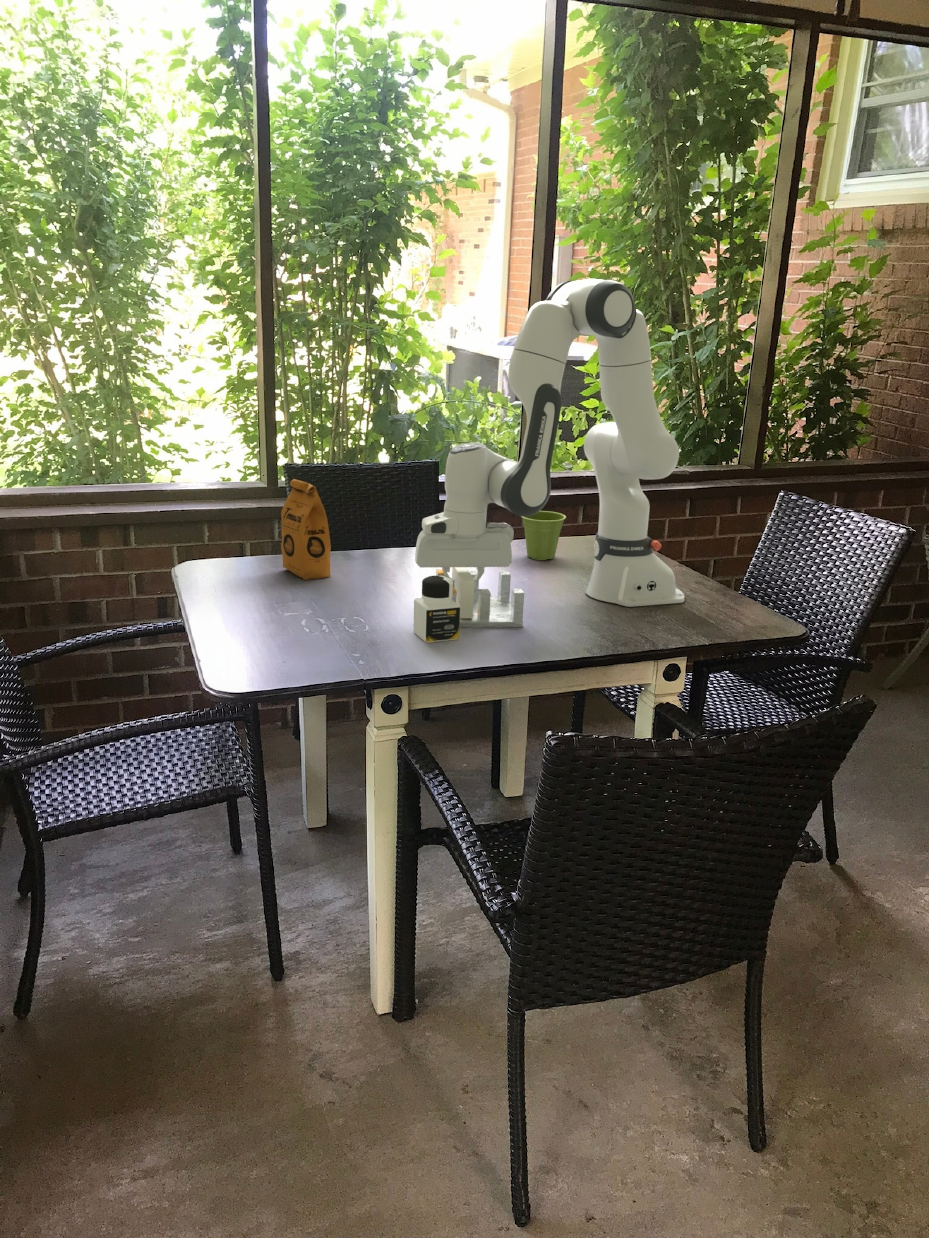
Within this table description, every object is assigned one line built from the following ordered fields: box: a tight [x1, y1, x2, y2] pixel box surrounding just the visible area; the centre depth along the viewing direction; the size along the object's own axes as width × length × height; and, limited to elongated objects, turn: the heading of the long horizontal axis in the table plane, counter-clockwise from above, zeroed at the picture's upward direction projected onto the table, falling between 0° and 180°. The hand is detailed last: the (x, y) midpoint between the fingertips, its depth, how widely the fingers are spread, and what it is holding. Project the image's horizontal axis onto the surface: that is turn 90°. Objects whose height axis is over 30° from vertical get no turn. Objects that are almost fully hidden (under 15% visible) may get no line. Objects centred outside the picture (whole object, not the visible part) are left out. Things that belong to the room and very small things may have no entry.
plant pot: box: [520, 510, 567, 561], centre depth 253 cm, size 12×12×11 cm
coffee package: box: [280, 478, 332, 581], centre depth 228 cm, size 10×12×22 cm
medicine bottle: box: [412, 575, 460, 644], centre depth 190 cm, size 7×7×12 cm
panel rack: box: [435, 568, 525, 629], centre depth 205 cm, size 16×18×8 cm
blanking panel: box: [451, 567, 474, 618], centre depth 204 cm, size 2×14×8 cm, turn 9°
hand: (462, 586), depth 204 cm, fingers open, 4 cm apart
